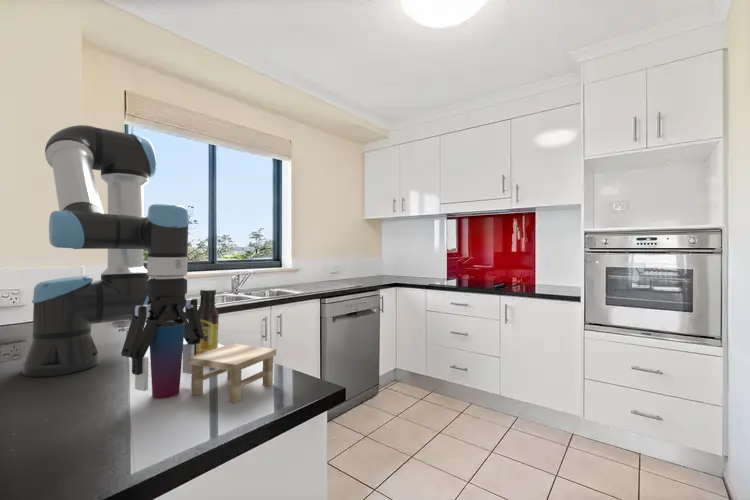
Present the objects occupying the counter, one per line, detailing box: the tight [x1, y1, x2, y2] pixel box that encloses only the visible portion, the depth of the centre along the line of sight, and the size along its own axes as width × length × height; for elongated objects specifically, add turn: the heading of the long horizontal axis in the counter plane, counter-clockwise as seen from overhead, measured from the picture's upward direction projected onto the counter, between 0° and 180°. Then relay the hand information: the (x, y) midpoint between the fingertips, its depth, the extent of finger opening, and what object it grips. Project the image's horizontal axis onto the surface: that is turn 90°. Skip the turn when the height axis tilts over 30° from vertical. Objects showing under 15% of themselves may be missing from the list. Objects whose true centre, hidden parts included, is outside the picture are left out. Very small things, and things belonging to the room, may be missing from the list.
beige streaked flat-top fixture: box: [188, 343, 277, 404], centre depth 83 cm, size 13×13×8 cm
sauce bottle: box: [196, 288, 220, 355], centre depth 104 cm, size 6×6×20 cm
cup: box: [149, 320, 185, 399], centre depth 79 cm, size 7×7×15 cm
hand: (166, 380), depth 79 cm, fingers open, 10 cm apart
